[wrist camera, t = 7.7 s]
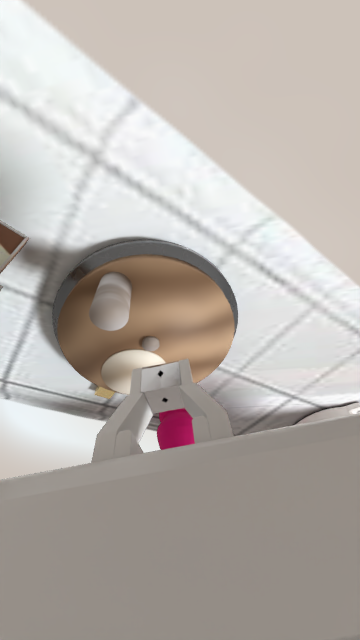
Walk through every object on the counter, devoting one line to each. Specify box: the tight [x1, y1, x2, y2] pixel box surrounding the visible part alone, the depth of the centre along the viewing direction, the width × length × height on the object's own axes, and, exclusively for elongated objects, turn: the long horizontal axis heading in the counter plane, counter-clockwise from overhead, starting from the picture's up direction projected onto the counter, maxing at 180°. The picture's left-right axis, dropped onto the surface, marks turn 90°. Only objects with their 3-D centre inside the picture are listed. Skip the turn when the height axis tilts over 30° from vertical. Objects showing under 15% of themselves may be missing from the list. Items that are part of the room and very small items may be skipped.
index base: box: [53, 240, 238, 399], centre depth 29 cm, size 22×25×1 cm
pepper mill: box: [157, 408, 195, 450], centre depth 32 cm, size 7×7×20 cm
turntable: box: [57, 254, 235, 395], centre depth 25 cm, size 20×20×6 cm
